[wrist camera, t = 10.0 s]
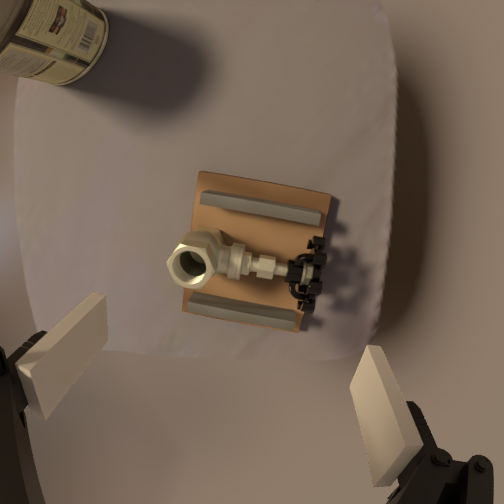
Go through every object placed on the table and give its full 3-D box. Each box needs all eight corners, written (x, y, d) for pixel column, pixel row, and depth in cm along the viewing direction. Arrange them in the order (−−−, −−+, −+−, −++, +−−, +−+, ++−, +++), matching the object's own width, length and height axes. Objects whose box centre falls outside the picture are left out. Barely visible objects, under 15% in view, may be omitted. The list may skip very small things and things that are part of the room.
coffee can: (38, 29, 25) (-40, 1, 12) (107, -7, 24) (38, -61, 11) (39, 100, 28) (-52, 90, 15) (112, 66, 27) (26, 28, 13)
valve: (182, 273, 31) (304, 295, 31) (160, 301, 25) (311, 329, 25) (189, 206, 29) (319, 229, 29) (167, 219, 23) (332, 248, 23)
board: (201, 170, 30) (192, 172, 26) (329, 194, 29) (336, 198, 26) (184, 306, 34) (175, 322, 30) (297, 327, 33) (299, 346, 30)
